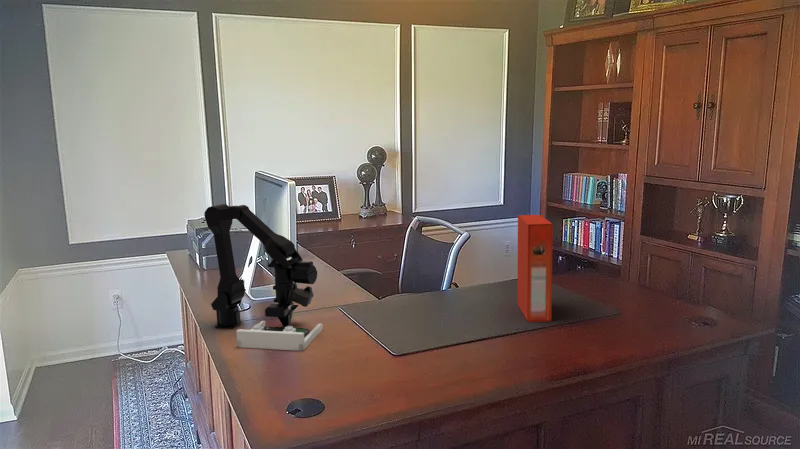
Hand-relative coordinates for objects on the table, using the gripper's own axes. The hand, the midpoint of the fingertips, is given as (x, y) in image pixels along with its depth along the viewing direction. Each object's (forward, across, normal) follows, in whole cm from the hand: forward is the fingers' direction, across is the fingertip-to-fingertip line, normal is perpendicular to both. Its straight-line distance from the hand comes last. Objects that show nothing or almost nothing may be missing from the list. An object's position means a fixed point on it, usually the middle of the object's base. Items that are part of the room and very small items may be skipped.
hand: (287, 329), depth 186 cm
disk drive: (+2, -6, 0) cm, 6 cm away
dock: (+1, -5, 0) cm, 5 cm away
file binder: (+1, +28, -76) cm, 81 cm away
